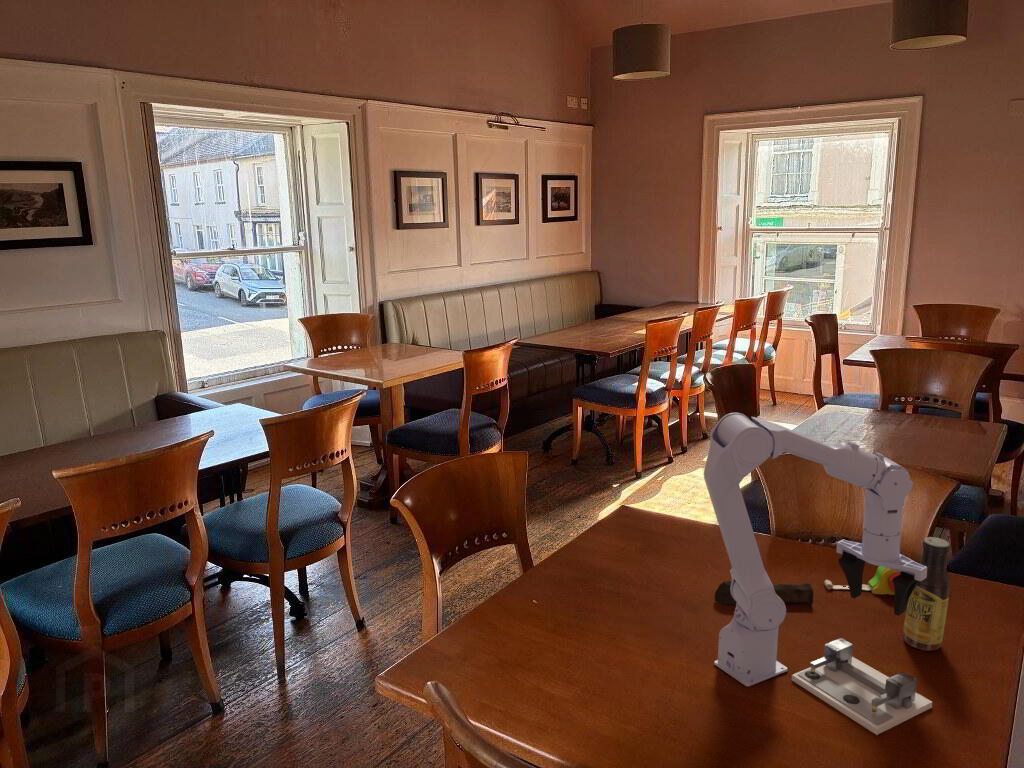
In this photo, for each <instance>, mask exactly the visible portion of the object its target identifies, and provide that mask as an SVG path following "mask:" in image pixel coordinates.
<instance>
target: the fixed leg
mask: <svg viewBox="0 0 1024 768" xmlns="http://www.w3.org/2000/svg"><path fill="white" fill-rule="evenodd" d="M853 651H854V644H853V643H851V642H850V641H847V640H846V639H844V638H842V637H840V638H837V639H835V640H832V641H830V642H827V643H825V644H824V650H823V657H821V658H818V659H816V660H814V661H810V664H809V665H810V666H809V668H810V667H811V671H810V673H811V674H815V669H816V668H818V667H821V666H823V665H825V666H827V667H829V668H830V669H832V670H834V671H837V670H839V667H840V662H842V661H845V662H847V663H849V664H852V657H853V653H854V652H853Z"/></svg>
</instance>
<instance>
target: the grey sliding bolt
mask: <svg viewBox="0 0 1024 768" xmlns="http://www.w3.org/2000/svg"><path fill="white" fill-rule="evenodd" d="M917 681H918V679H917V678H916V677H913V676H912V675H910V674H908V673H906V672H904V671H901V672H900V673H897V674H894V675H893V676H889V678H888V679H886V686H885V694H883V695H881V696H878V697H876V698H874V699H872V703H871V704H872V712H877V706H879V705H881V704H884V703H886V702H888V703H889V704H891V705H893V706H894V707H896V708H898V709H899V708H901V707H902V704H903V699H905V698H907V697H908V698H910V699H911V700H912V702H913V701H915V693H917Z"/></svg>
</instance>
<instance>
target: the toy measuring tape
mask: <svg viewBox="0 0 1024 768" xmlns="http://www.w3.org/2000/svg"><path fill="white" fill-rule="evenodd" d="M898 575H900V572H897V571H894V570H892V569H889V568H886V567H882V566H878V567H877V568H876V572H875V574H874V576H873V577H872V578H871V579H869V580H868V582H867V584H865V583H864V584H863V583H862V591H866V592H868V591H870V592H871V593H872V594H873V595H883V596H884V594H885V596H887V595H886V594H889V595H888V596H895V590H894V584H893V578H894V577H896V576H898ZM823 583H824V586H825V588H826V589H827V590H828V591H830V590H831V589H832V590H849V588H848V587H849V586H848V585H845V586H846V587H843V586H844V585H833V583H832V581H831V580H830V579H825V580H824V581H823Z"/></svg>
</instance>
